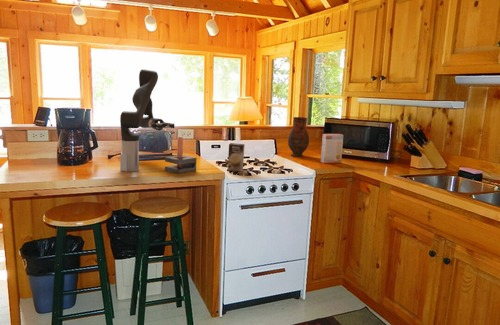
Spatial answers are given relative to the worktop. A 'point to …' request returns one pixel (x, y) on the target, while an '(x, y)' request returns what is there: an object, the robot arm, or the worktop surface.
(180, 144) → the pin
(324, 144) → the cracker box
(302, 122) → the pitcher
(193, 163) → the clevis
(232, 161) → the coffee box
